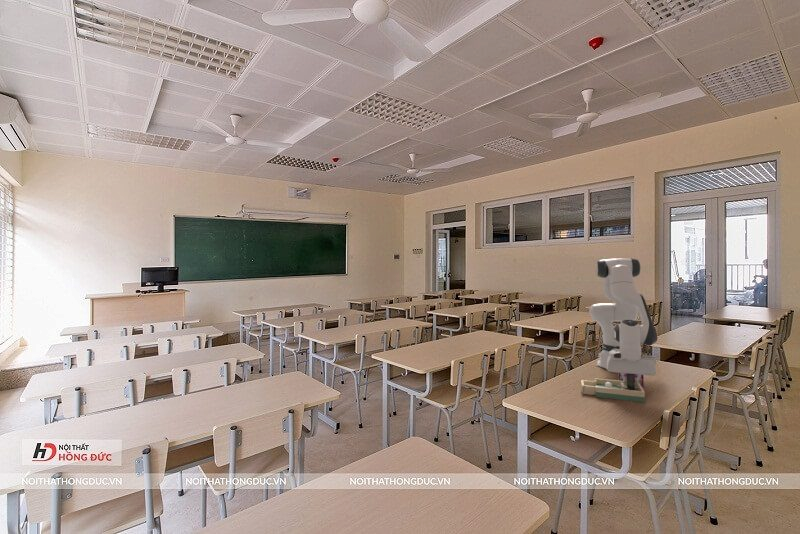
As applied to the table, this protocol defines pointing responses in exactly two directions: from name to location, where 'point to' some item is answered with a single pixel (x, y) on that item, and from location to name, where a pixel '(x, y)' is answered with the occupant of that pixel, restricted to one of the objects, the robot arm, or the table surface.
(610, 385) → the ball
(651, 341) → the robot arm
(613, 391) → the pitch
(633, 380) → the rod
